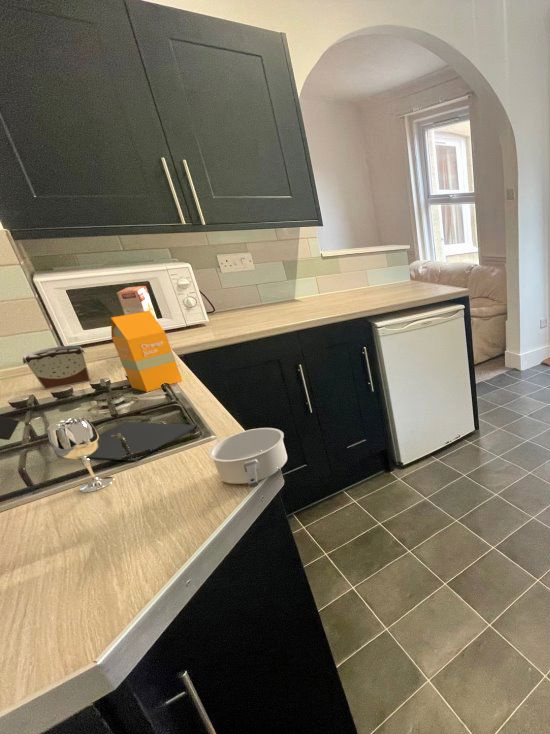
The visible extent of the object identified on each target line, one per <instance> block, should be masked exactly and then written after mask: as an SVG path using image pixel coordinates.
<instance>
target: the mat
mask: <svg viewBox="0 0 550 734" xmlns="http://www.w3.org/2000/svg"><path fill="white" fill-rule="evenodd" d="M196 426H197V427H198V425H196V424H179V423H163V422H161V423H160V422H143V421H141V422H140V421H126V422H123V423H121V424H119V425H117V426H115V427H113V428H110V429H108V430H106V431H104V432H102V433H99V435H100V438H101V445H100V447H99V449H98V450H97V451H96V452H94V453H93V454H91V455H90V456H88V457H87V458H88V459H89V460H99V461H112V460H115V459H121V458H122V457H123V456H125V455H126V454H127V452H126V451H125V449H124V448H123V447H122V444H121V442H120V441H119V439H118V438H117V436H116V437H111V435H113V434H114V435H117V434H118V433H121V434H122V435H123V437H124V438H125V440H126V443H127V445H128V447H129V449H130V452H131V453H136V452H139V451H143V450H147V449H150V450H151V451H152V449H153V450H154V449H156V448H158V447H159V446H161V445H164V444H166V443H168V442H170V441H172V442H174V441H176V440H178V439H179V438H181V437H183V436H184V435H187V434H188V433H190V432H192V431H193V430H195V429H196V428H195V427H196ZM194 428H195V429H194ZM175 439H176V440H175ZM173 440H174V441H173ZM57 457H58V458H60V457H59V456H57ZM141 457H142V456H140V457H136V458H131V459H128V460H130V461H137V460H138V459H139V458H141ZM137 462H138V461H137Z"/></svg>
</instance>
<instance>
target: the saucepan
mask: <svg viewBox="0 0 550 734" xmlns="http://www.w3.org/2000/svg"><path fill="white" fill-rule="evenodd" d="M284 435H285V433H284V432H283V431H282V430H280V429H278V428H274V427H258V428H252V429H247V430H244V431H239V432H237V433H234V434H232V435H229V436H227V437H225V438H222V439H221V440H220V441H218V442H216V443H215V444H214V445H212V446H211V448H210V449H209V451H208V456H209V458H210V459H212V460H213V463H214V465H215V468H216V470H217V474H218V476H219V479H220V480H221V481H222V482H225V483H227V484H235V485H237V484H240V485H244V484H245V485H247V484H248V487H249V488H257V486H258V485H259V482H260V481H263V480H264V479H267V478H269V477H271V476H272V475H274V474H275V473H276V472H278V471H279V470H280V469H282V468H283V467H284V465H286V463H287V462H288V454H287V450H286V447H285V443H284V438H285V436H284ZM261 450H262V451H261ZM277 467H278V468H279V470H278V468H277Z"/></svg>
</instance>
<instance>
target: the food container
mask: <svg viewBox="0 0 550 734" xmlns="http://www.w3.org/2000/svg"><path fill="white" fill-rule="evenodd" d="M84 354H85V355H86V354H87V352H86V351H85V349H84V348H83V347H81V346H80V345H63V346H62V345H61V346H56V347H47V348H43V349H39V350H35V351H32V352H29V353H26V354H24V355H22V364H23V365H25V364H27V366H28V367H29V369H30V370H31V372H32V373H33V374H34V377H35V378H36V379H37V380H38V382H39V384H40V385H41V386H42V388H43V390H45V391H46V390H51V389H56V388H62V387H67V386H73V385H78V384H84V383H89V382H91V381H92V380H91V377H90V373H89V370H88V366H87V363H86V359H85V356H84Z"/></svg>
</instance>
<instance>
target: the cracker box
mask: <svg viewBox="0 0 550 734" xmlns="http://www.w3.org/2000/svg"><path fill="white" fill-rule="evenodd" d="M116 295H117V297H118V300H119V303H120V306H121V308H122V311H123V315H127V314H132V313H138V312H143V311H148V310H150V312H151V313H152V315H153V316H154V318H155V319H156V320H157V322H158V323H159V321H158V317H157V315H156V312H155V309H154V306H153V303H152V299H151V297H150V293H149V291H148V288H147V286H146V285H139V286H127V287H125V288H123V289H121V290H119V291H118V292H116Z"/></svg>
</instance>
